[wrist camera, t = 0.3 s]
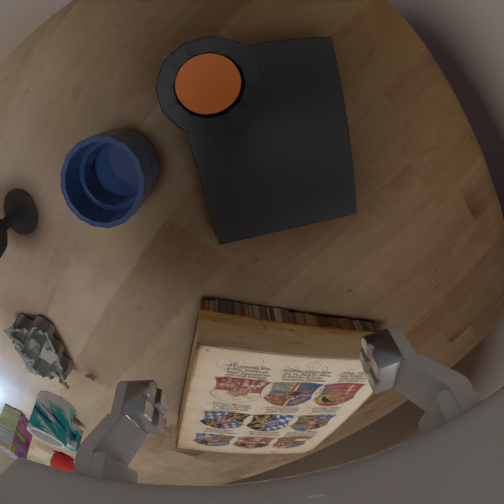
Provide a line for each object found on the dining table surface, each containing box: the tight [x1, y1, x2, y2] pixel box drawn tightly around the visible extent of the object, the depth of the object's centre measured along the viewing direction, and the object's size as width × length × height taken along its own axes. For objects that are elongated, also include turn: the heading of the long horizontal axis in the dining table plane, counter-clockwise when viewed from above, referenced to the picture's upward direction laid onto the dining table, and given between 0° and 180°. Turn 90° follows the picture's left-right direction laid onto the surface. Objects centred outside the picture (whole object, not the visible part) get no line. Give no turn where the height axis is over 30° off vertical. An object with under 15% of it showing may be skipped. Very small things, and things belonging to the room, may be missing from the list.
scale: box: [156, 36, 357, 245], centre depth 20 cm, size 16×13×3 cm
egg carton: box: [4, 314, 73, 389], centre depth 29 cm, size 11×8×4 cm
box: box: [0, 405, 32, 459], centre depth 39 cm, size 10×6×12 cm, turn 165°
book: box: [176, 299, 379, 454], centre depth 34 cm, size 25×6×28 cm
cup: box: [61, 128, 159, 228], centre depth 19 cm, size 6×6×5 cm
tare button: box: [175, 53, 241, 114], centre depth 16 cm, size 4×4×2 cm
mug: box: [26, 391, 83, 451], centre depth 36 cm, size 8×12×8 cm
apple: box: [50, 452, 74, 472], centre depth 53 cm, size 8×8×8 cm
